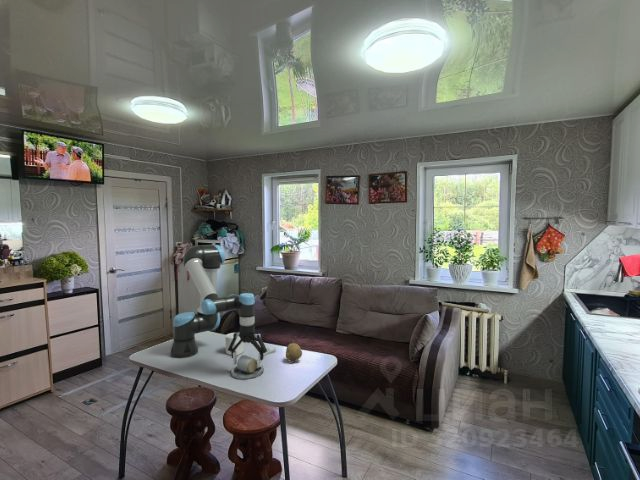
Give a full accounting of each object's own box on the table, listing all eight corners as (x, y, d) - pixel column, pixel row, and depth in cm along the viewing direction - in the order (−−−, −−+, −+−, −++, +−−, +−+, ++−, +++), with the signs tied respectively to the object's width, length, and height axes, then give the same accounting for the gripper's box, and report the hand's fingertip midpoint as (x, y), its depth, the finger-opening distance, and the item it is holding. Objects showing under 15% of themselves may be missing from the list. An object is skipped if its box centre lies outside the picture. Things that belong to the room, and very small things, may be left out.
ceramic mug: (248, 376, 166) (248, 360, 166) (236, 372, 170) (236, 357, 170) (262, 368, 175) (262, 354, 174) (251, 365, 179) (251, 351, 179)
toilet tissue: (236, 347, 208) (236, 331, 208) (249, 351, 201) (249, 335, 200) (221, 352, 200) (221, 335, 199) (234, 357, 192) (234, 339, 192)
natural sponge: (304, 359, 188) (304, 342, 188) (297, 365, 180) (297, 347, 180) (290, 357, 192) (290, 340, 191) (283, 363, 183) (282, 345, 183)
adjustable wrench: (250, 367, 180) (249, 363, 180) (240, 364, 183) (240, 361, 183) (277, 351, 202) (277, 348, 202) (268, 349, 205) (268, 346, 205)
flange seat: (225, 378, 165) (225, 374, 165) (239, 365, 181) (239, 361, 181) (256, 380, 162) (256, 376, 162) (267, 367, 178) (267, 363, 178)
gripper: (220, 325, 169) (221, 366, 170) (268, 327, 165) (268, 369, 166) (227, 321, 176) (227, 360, 177) (272, 323, 172) (273, 363, 173)
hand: (247, 365), depth 171 cm, fingers open, 13 cm apart
